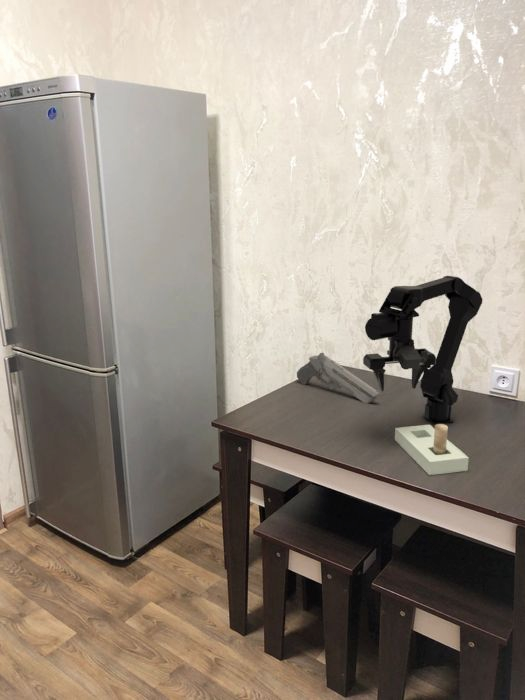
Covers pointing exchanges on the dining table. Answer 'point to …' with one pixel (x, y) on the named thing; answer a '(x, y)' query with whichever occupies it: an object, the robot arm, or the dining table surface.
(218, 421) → the dining table surface
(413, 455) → the socket block
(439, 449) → the dowel
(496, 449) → the dining table surface
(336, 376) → the handgun
